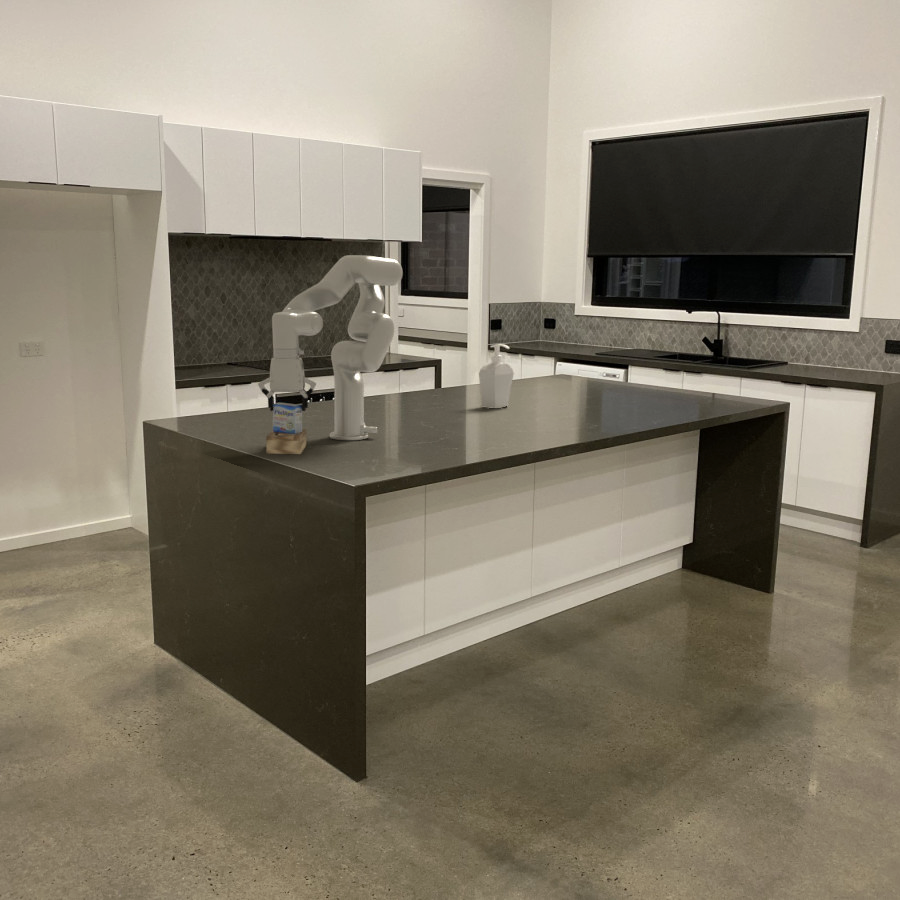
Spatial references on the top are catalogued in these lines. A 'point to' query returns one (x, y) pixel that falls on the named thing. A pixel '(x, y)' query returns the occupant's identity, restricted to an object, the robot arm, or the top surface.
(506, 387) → the soap bottle
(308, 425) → the top surface
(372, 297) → the robot arm
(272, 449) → the block
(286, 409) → the medicine box
